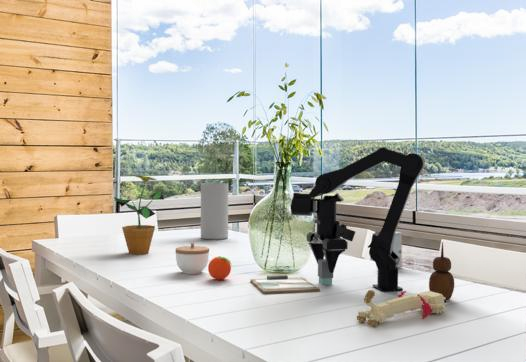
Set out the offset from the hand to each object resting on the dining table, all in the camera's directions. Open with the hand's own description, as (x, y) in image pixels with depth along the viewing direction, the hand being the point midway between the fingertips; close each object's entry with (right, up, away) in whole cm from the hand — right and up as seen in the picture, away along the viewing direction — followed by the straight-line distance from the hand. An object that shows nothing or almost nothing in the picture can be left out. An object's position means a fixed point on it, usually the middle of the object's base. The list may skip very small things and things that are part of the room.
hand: (325, 269), depth 172 cm
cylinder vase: (-41, 0, +96) cm, 104 cm away
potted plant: (-66, -2, +53) cm, 84 cm away
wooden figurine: (+28, -5, -18) cm, 34 cm away
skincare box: (+25, -4, +27) cm, 37 cm away
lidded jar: (-41, -3, +16) cm, 44 cm away
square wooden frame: (-12, -4, -4) cm, 14 cm away
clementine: (-31, -4, +5) cm, 32 cm away
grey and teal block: (0, -4, 0) cm, 4 cm away
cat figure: (+15, -6, -35) cm, 39 cm away
